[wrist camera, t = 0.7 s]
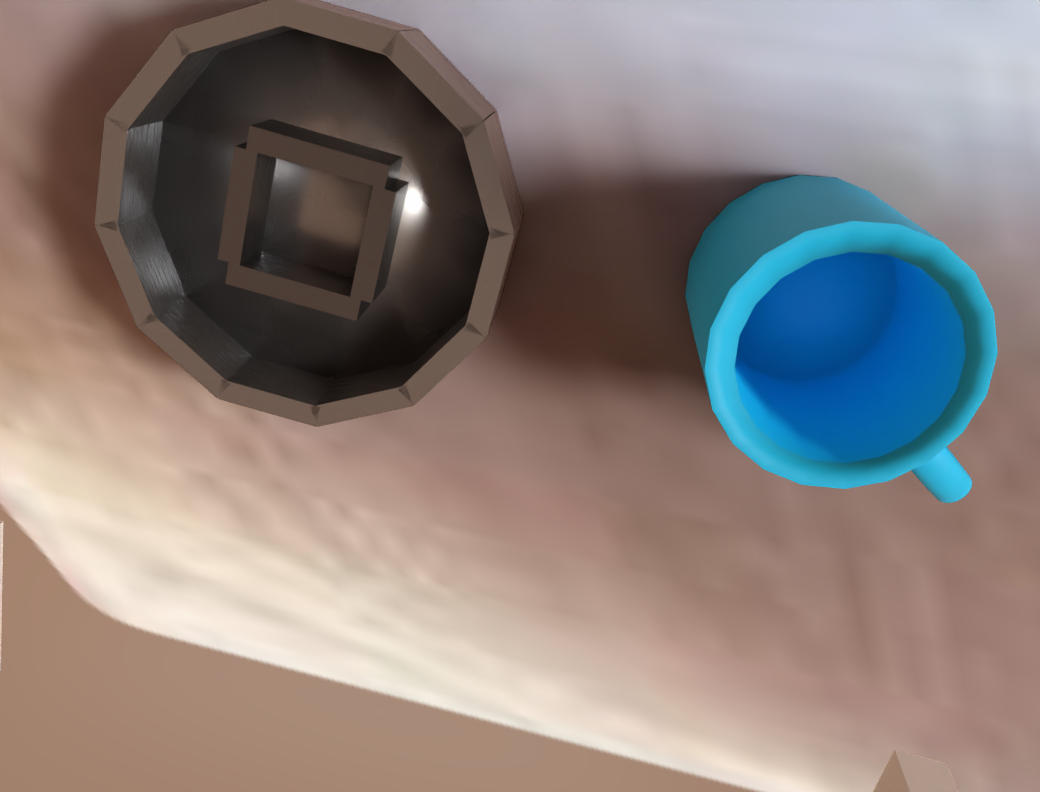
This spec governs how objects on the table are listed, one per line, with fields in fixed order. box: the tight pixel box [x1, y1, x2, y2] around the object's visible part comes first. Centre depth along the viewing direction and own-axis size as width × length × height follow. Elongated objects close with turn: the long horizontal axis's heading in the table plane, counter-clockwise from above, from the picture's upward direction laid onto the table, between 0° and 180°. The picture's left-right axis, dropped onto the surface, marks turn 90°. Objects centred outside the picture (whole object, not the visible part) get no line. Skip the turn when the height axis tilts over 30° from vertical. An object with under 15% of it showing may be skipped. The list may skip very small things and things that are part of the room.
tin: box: [94, 0, 523, 427], centre depth 34 cm, size 14×14×4 cm
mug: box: [685, 175, 998, 503], centre depth 32 cm, size 12×8×8 cm
